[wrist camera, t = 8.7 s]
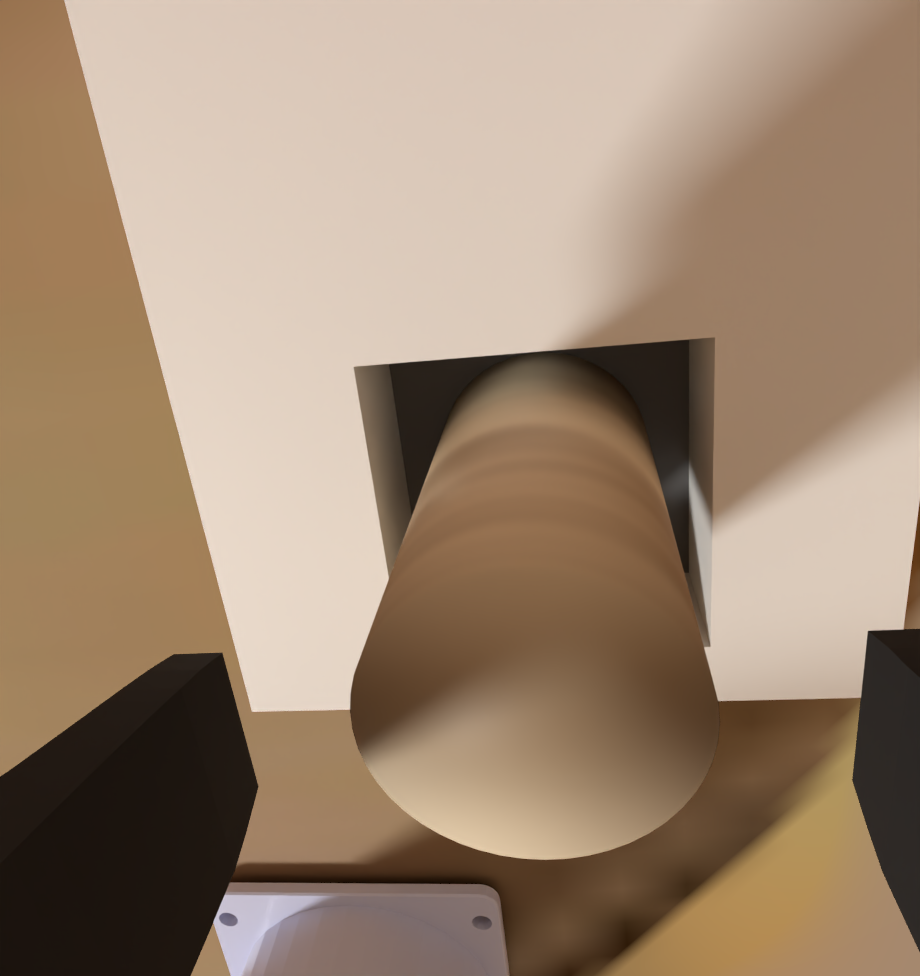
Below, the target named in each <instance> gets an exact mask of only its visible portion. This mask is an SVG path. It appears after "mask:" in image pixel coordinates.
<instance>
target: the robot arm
mask: <svg viewBox="0 0 920 976" xmlns="http://www.w3.org/2000/svg"><path fill="white" fill-rule="evenodd" d="M852 780H853V784H854V787H855V790H856V793H857V796H858V799H859V803H860V806H861V809H862V812H863V815H864V818H865V821H866V825H867V828H868V830H869V833H870V836H871V840H872V842H873V845H874V848H875V851H876V854H877V857H878V860H879V863H880V866H881V869H882V871H883V874H884V876H885V878H886V880H887V882H888V885H889V887H890V889H891V891H892V893H893V896H894V898H895V900H896V902H897V904H898V906H899V909H900V911H901V913H902V915H903V917H904V919H905V921H906V924H907V925H908V928H909V930H910V932H911V934H912V936H913V938H914V941H915V943H916V945H917V947H918V949H919V951H920V629H902V630H873V631H868V634H867V644H866V654H865V663H864V673H863V683H862V692H861V702H860V712H859V721H858V731H857V741H856V750H855V760H854V770H853V779H852ZM257 790H258V784H257V780H256V776H255V773H254V769H253V765H252V761H251V758H250V754H249V750H248V747H247V743H246V739H245V736H244V732H243V728H242V724H241V721H240V717H239V713H238V710H237V706H236V702H235V698H234V695H233V691H232V687H231V684H230V680H229V676H228V672H227V669H226V665H225V661H224V658H223V654H222V653H200V654H174V655H172V656H170V657H169V658H167V659H165V660H164V661H162V662H161V663H159V664H157V665H156V666H154V667H153V668H151V669H150V670H148V671H147V672H145V673H144V674H142V675H141V676H140V677H138V678H137V679H135V680H134V681H132V682H131V683H130V684H128V685H127V686H125V687H124V688H123V689H121V690H120V691H118V692H117V693H116V694H114V695H113V696H112V697H110V698H109V699H107V700H106V701H105V702H103V703H102V704H101V705H99V706H98V707H96V708H95V709H94V710H92V711H91V712H90V713H88V714H87V715H86V716H84V717H83V718H81V719H80V720H79V721H77V722H76V723H75V724H73V725H72V726H70V727H69V728H68V729H66V730H65V731H63V732H62V733H61V734H59V735H58V736H57V737H55V738H54V739H52V740H51V741H50V742H48V743H47V744H46V745H44V746H43V747H41V748H40V749H39V750H37V751H36V752H35V753H33V754H32V755H30V756H29V757H28V758H26V759H25V760H24V761H22V762H21V763H19V764H18V765H17V766H15V767H14V768H12V769H11V770H10V771H8V772H7V773H5V774H4V775H2V776H1V777H0V976H191V973H192V971H193V969H194V966H195V964H196V962H197V959H198V957H199V955H200V952H201V950H202V948H203V945H204V943H205V941H206V938H207V936H208V934H209V931H210V929H211V926H212V924H213V923H214V926H215V929H216V932H217V935H218V938H219V941H220V944H221V947H222V950H223V953H224V956H225V959H226V962H227V965H228V968H229V971H230V974H231V976H510V973H509V965H508V957H507V949H506V941H505V934H504V926H503V918H502V910H501V902H500V897H499V895H498V893H497V892H496V891H495V890H494V889H493V888H491V887H489V886H487V885H482V884H385V883H243V882H230V881H231V878H232V876H233V873H234V871H235V868H236V865H237V861H238V858H239V855H240V851H241V848H242V845H243V841H244V838H245V835H246V831H247V827H248V824H249V820H250V816H251V812H252V809H253V805H254V801H255V797H256V793H257ZM483 916H485V917H483Z"/></svg>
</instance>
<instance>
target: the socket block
mask: <svg viewBox="0 0 920 976" xmlns="http://www.w3.org/2000/svg"><path fill="white" fill-rule="evenodd" d="M64 1H65V5H66V9H67V12H68V16H69V20H70V24H71V27H72V31H73V35H74V39H75V43H76V46H77V50H78V54H79V58H80V62H81V65H82V69H83V73H84V77H85V80H86V84H87V88H88V92H89V96H90V99H91V103H92V107H93V111H94V115H95V118H96V122H97V126H98V130H99V134H100V137H101V141H102V145H103V149H104V152H105V156H106V160H107V164H108V168H109V171H110V175H111V179H112V183H113V187H114V190H115V194H116V198H117V202H118V205H119V209H120V213H121V217H122V221H123V224H124V228H125V232H126V236H127V240H128V243H129V247H130V251H131V255H132V259H133V262H134V266H135V270H136V274H137V277H138V281H139V285H140V289H141V293H142V296H143V300H144V304H145V308H146V312H147V315H148V319H149V323H150V327H151V330H152V334H153V338H154V342H155V346H156V349H157V353H158V357H159V361H160V365H161V368H162V372H163V376H164V380H165V383H166V387H167V391H168V395H169V399H170V402H171V406H172V410H173V414H174V418H175V421H176V425H177V429H178V433H179V437H180V440H181V444H182V448H183V452H184V455H185V459H186V463H187V467H188V471H189V474H190V478H191V482H192V486H193V490H194V493H195V497H196V501H197V505H198V508H199V512H200V516H201V520H202V524H203V527H204V531H205V535H206V539H207V543H208V546H209V550H210V554H211V558H212V562H213V565H214V569H215V573H216V577H217V580H218V584H219V588H220V592H221V596H222V599H223V603H224V607H225V611H226V615H227V618H228V622H229V626H230V630H231V633H232V637H233V641H234V645H235V649H236V652H237V656H238V660H239V664H240V668H241V671H242V675H243V679H244V683H245V686H246V690H247V694H248V698H249V702H250V705H251V709H252V712H261V711H305V710H349V709H350V694H351V687H352V682H353V677H354V673H355V670H356V667H357V664H358V662H359V659H360V656H361V654H362V651H363V648H364V645H365V643H366V640H367V637H368V634H369V632H370V629H371V626H372V624H373V621H374V618H375V615H376V613H377V610H378V607H379V604H380V602H381V599H382V596H383V594H384V591H385V588H386V585H387V583H388V580H389V577H390V575H391V572H392V569H393V566H394V564H395V561H396V558H397V555H398V553H399V550H400V547H401V545H402V542H403V539H404V536H405V534H406V531H407V528H408V525H409V523H410V520H411V517H412V515H413V512H414V509H415V506H416V504H417V501H418V498H419V495H420V493H421V490H422V487H423V485H424V482H425V479H426V476H427V474H428V471H429V468H430V465H431V463H432V460H433V457H434V455H435V452H436V449H437V446H438V444H439V441H440V438H441V436H442V433H443V430H444V427H445V425H446V422H447V419H448V416H449V414H450V411H451V409H452V407H453V405H454V403H455V402H456V400H457V398H458V397H459V395H460V394H461V393H462V391H463V390H464V389H465V388H466V387H467V386H468V384H469V383H470V382H471V381H472V380H473V379H475V378H476V377H477V376H478V375H480V374H481V373H482V372H483V371H485V370H486V369H488V368H490V367H491V366H493V365H495V364H497V363H499V362H502V361H504V360H506V359H509V358H512V357H516V356H519V355H523V354H530V353H542V352H551V353H561V354H567V355H571V356H575V357H579V358H581V359H584V360H586V361H589V362H591V363H593V364H595V365H597V366H599V367H601V368H603V369H604V370H605V371H607V372H608V373H609V374H611V375H612V376H614V377H615V378H616V379H617V380H618V381H619V382H620V383H621V384H622V385H623V386H624V387H625V388H626V390H627V391H628V392H629V393H630V395H631V396H632V398H633V399H634V401H635V403H636V404H637V406H638V408H639V410H640V413H641V415H642V418H643V420H644V424H645V428H646V432H647V435H648V439H649V443H650V447H651V450H652V454H653V458H654V462H655V465H656V469H657V473H658V477H659V480H660V484H661V488H662V492H663V495H664V499H665V503H666V507H667V510H668V514H669V518H670V522H671V525H672V529H673V533H674V537H675V540H676V544H677V548H678V552H679V555H680V559H681V563H682V567H683V570H684V574H685V578H686V582H687V585H688V589H689V593H690V597H691V600H692V604H693V608H694V612H695V615H696V619H697V623H698V627H699V630H700V634H701V638H702V642H703V645H704V649H705V653H706V657H707V660H708V664H709V668H710V672H711V675H712V679H713V683H714V687H715V691H716V695H717V699H718V701H745V700H789V699H833V698H861V692H862V683H863V673H864V663H865V654H866V644H867V634H868V631H873V630H902V629H904V621H905V613H906V605H907V597H908V589H909V581H910V573H911V566H912V558H913V550H914V542H915V534H916V526H917V518H918V510H919V502H920V0H64Z"/></svg>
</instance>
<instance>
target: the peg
mask: <svg viewBox="0 0 920 976" xmlns="http://www.w3.org/2000/svg"><path fill="white" fill-rule="evenodd" d="M350 714H351V722H352V729H353V733H354V736H355V739H356V743H357V746H358V749H359V751H360V753H361V755H362V758H363V760H364V762H365V764H366V766H367V768H368V769H369V771H370V772H371V774H372V775H373V777H374V778H375V780H376V781H377V783H378V784H379V785H380V786H381V788H382V789H383V790H384V791H385V792H386V793H387V795H388V796H389V797H390V798H391V799H392V800H393V801H394V802H395V803H396V804H397V805H399V806H400V807H401V808H402V809H403V810H404V811H405V812H406V813H408V814H409V815H410V816H412V817H413V818H415V819H416V820H417V821H419V822H420V823H421V824H423V825H425V826H426V827H428V828H430V829H431V830H433V831H435V832H437V833H438V834H440V835H442V836H444V837H447V838H449V839H451V840H453V841H455V842H457V843H460V844H463V845H466V846H468V847H471V848H474V849H477V850H480V851H484V852H488V853H493V854H497V855H501V856H508V857H515V858H522V859H539V860H551V859H569V858H576V857H583V856H589V855H593V854H597V853H601V852H605V851H609V850H612V849H615V848H618V847H620V846H623V845H626V844H629V843H631V842H633V841H635V840H637V839H639V838H641V837H643V836H645V835H647V834H649V833H650V832H652V831H653V830H655V829H657V828H658V827H660V826H661V825H663V824H664V823H666V822H667V821H668V820H669V819H670V818H672V817H673V816H674V815H675V814H676V813H677V812H679V811H680V810H681V809H682V808H683V807H684V806H685V804H686V803H687V802H688V801H689V800H690V799H691V798H692V797H693V795H694V794H695V793H696V791H697V790H698V788H699V787H700V785H701V784H702V782H703V780H704V779H705V777H706V775H707V773H708V771H709V768H710V766H711V764H712V762H713V759H714V755H715V751H716V748H717V744H718V737H719V726H720V717H719V704H718V699H717V695H716V691H715V687H714V683H713V679H712V675H711V672H710V668H709V664H708V660H707V657H706V653H705V649H704V645H703V642H702V638H701V634H700V630H699V627H698V623H697V619H696V615H695V612H694V608H693V604H692V600H691V597H690V593H689V589H688V585H687V582H686V578H685V574H684V570H683V567H682V563H681V559H680V555H679V552H678V548H677V544H676V540H675V537H674V533H673V529H672V525H671V522H670V518H669V514H668V510H667V507H666V503H665V499H664V495H663V492H662V488H661V484H660V480H659V477H658V473H657V469H656V465H655V462H654V458H653V454H652V450H651V447H650V443H649V439H648V435H647V432H646V428H645V424H644V420H643V418H642V415H641V413H640V410H639V408H638V406H637V404H636V403H635V401H634V399H633V398H632V396H631V395H630V393H629V392H628V391H627V390H626V388H625V387H624V386H623V385H622V384H621V383H620V382H619V381H618V380H617V379H616V378H615V377H614V376H612V375H611V374H609V373H608V372H607V371H605V370H604V369H603V368H601V367H599V366H597V365H595V364H593V363H591V362H589V361H586V360H584V359H581V358H579V357H575V356H571V355H567V354H561V353H551V352H542V353H530V354H523V355H519V356H516V357H512V358H509V359H506V360H504V361H502V362H499V363H497V364H495V365H493V366H491V367H490V368H488V369H486V370H485V371H483V372H482V373H481V374H480V375H478V376H477V377H476V378H475V379H473V380H472V381H471V382H470V383H469V384H468V386H467V387H466V388H465V389H464V390H463V391H462V393H461V394H460V395H459V397H458V398H457V400H456V402H455V403H454V405H453V407H452V409H451V411H450V414H449V416H448V419H447V422H446V425H445V427H444V430H443V433H442V436H441V438H440V441H439V444H438V446H437V449H436V452H435V455H434V457H433V460H432V463H431V465H430V468H429V471H428V474H427V476H426V479H425V482H424V485H423V487H422V490H421V493H420V495H419V498H418V501H417V504H416V506H415V509H414V512H413V515H412V517H411V520H410V523H409V525H408V528H407V531H406V534H405V536H404V539H403V542H402V545H401V547H400V550H399V553H398V555H397V558H396V561H395V564H394V566H393V569H392V572H391V575H390V577H389V580H388V583H387V585H386V588H385V591H384V594H383V596H382V599H381V602H380V604H379V607H378V610H377V613H376V615H375V618H374V621H373V624H372V626H371V629H370V632H369V634H368V637H367V640H366V643H365V645H364V648H363V651H362V654H361V656H360V659H359V662H358V664H357V667H356V670H355V673H354V677H353V682H352V687H351V694H350Z"/></svg>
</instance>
